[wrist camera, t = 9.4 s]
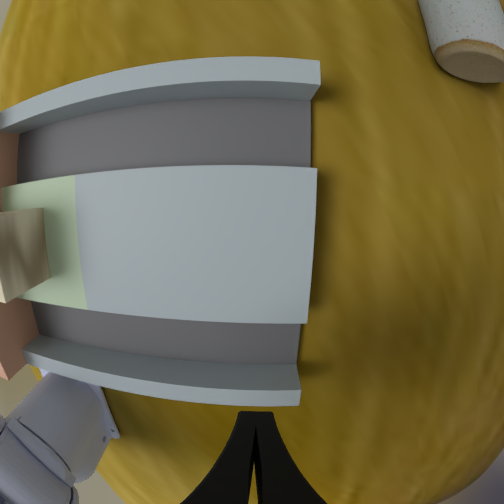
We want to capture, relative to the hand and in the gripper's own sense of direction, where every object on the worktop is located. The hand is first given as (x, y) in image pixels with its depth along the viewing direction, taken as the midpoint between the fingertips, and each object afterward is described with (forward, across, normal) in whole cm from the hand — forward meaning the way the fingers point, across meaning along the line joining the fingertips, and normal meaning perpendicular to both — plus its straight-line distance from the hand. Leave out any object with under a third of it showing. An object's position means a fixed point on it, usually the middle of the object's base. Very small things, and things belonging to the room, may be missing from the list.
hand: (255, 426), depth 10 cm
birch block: (+7, +17, -6) cm, 19 cm away
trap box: (+9, +9, -6) cm, 14 cm away
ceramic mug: (+10, -16, -24) cm, 31 cm away
